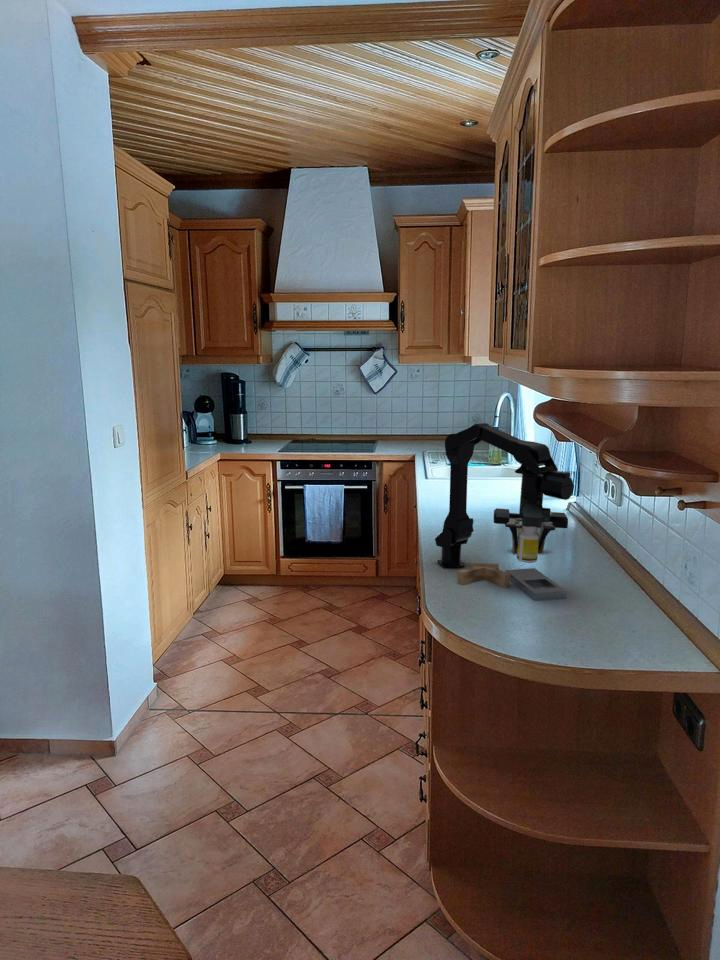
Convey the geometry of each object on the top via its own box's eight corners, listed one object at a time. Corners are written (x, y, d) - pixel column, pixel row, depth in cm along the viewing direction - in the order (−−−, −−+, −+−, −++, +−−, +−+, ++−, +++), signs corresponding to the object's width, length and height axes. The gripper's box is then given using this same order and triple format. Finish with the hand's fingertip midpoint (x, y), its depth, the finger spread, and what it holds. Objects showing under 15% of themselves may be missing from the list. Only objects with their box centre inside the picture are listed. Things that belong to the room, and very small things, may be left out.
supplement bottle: (541, 561, 174) (544, 525, 172) (527, 564, 171) (530, 528, 169) (526, 555, 179) (528, 520, 177) (512, 558, 176) (514, 523, 174)
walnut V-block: (458, 572, 189) (459, 561, 188) (509, 576, 186) (509, 564, 186) (457, 584, 180) (457, 572, 179) (510, 588, 177) (510, 576, 177)
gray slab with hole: (504, 576, 186) (505, 570, 186) (534, 574, 188) (534, 568, 188) (534, 600, 169) (534, 593, 168) (566, 598, 171) (566, 590, 170)
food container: (541, 548, 213) (543, 518, 211) (547, 554, 207) (549, 523, 205) (503, 548, 212) (505, 518, 210) (508, 554, 206) (510, 523, 204)
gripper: (496, 497, 165) (492, 556, 168) (573, 502, 162) (567, 562, 165) (495, 487, 176) (491, 543, 179) (567, 491, 172) (562, 548, 176)
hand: (527, 549), depth 175 cm, fingers closed on supplement bottle, 5 cm apart
